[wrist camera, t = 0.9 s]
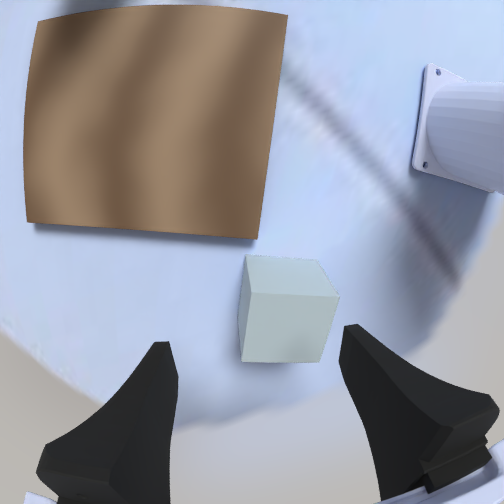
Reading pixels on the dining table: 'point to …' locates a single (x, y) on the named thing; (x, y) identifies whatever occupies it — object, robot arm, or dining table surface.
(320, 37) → the dining table surface
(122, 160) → the brown wooden board
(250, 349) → the pale blue-gray cube
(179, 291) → the dining table surface
